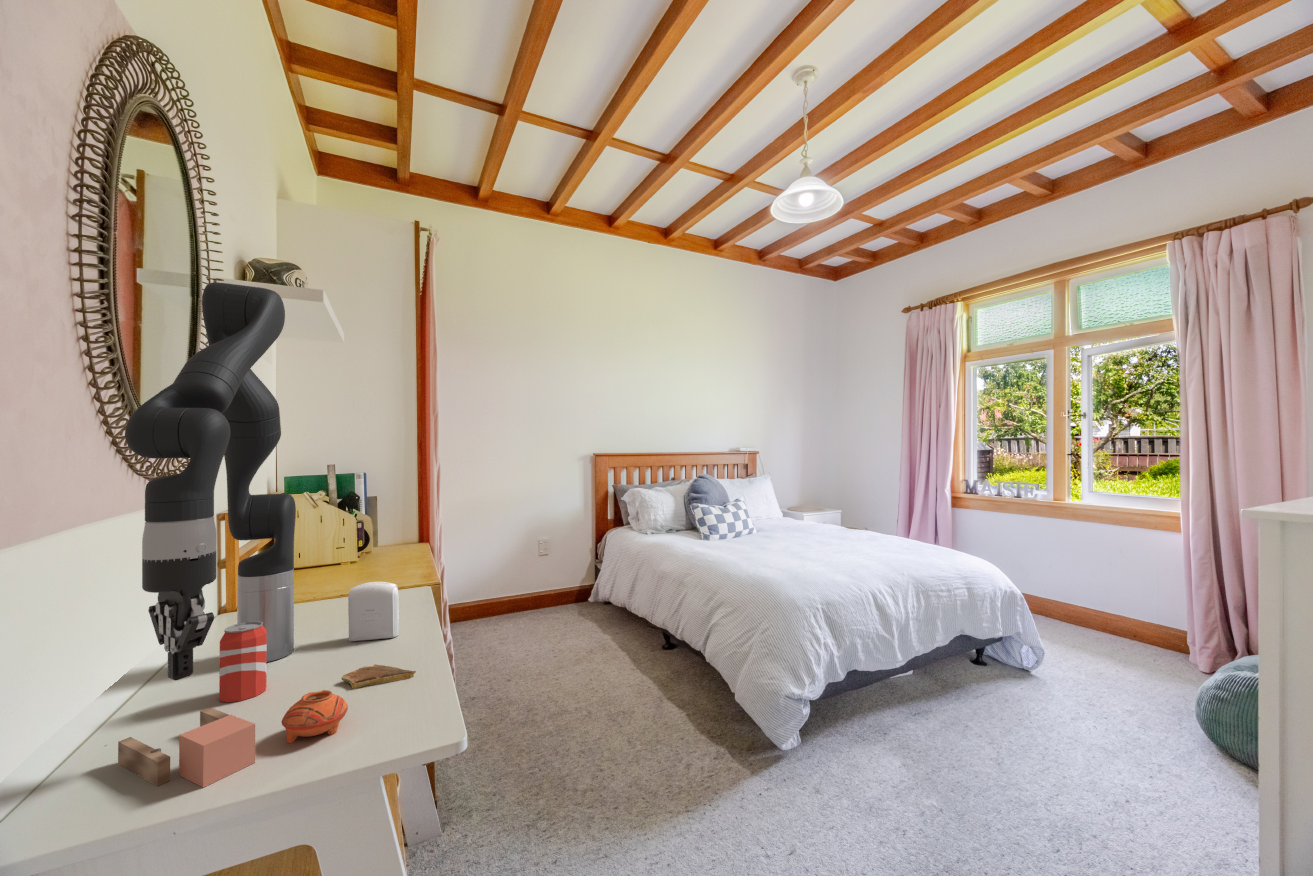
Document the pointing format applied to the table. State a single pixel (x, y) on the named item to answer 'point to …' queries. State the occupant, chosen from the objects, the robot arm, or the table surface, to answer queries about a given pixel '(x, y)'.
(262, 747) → the table surface
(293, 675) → the table surface
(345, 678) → the shard
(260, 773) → the table surface
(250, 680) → the beverage can
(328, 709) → the pot
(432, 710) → the table surface
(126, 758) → the tan wooden frame
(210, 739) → the block
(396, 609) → the photo printer
